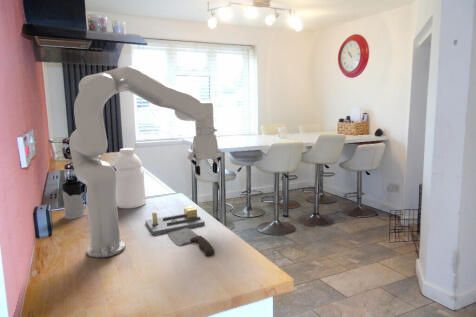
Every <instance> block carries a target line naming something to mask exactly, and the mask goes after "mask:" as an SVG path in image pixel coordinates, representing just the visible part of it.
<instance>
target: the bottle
mask: <svg viewBox="0 0 476 317" xmlns="http://www.w3.org/2000/svg"><path fill="white" fill-rule="evenodd" d="M142 166H143V162H142V160H141V159H140V157H139V156H138V155H137V154H136V153H135V148H133V147H124V148H120V149H119V155H118V156H117V157H116V159H115V161H114V164H113V168H114V169H115V172H116V175H117V183H116V201H117V208H120V209H135V208H140V207H142V206H144V205H145V204H146V190H145V189H146V188H145V177H144V176H145V174H144V170H143V169H142V168H141V167H142Z"/></svg>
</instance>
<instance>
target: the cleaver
mask: <svg viewBox="0 0 476 317" xmlns="http://www.w3.org/2000/svg"><path fill="white" fill-rule="evenodd" d="M166 235H167V236H168V238H169V240H170V241H171V242H173V243H174V244H175V245H177V246H179V247H183V246H186V245H189V244H197V245H198V248H199V249H200V250H201V251H203V252H204V255H205V256H206V257H210V256H214V255H215V252H216V251H215V249H214V246H213V245H211V243H210V242H209V241H208V240H207V239H206V238H205V237H204V236H202V235H198V234H197V233H196V232H194V231H193V230H192V229H191V228H187V227H185V228H181V229H177V230H173V231H170V232H167V233H166Z"/></svg>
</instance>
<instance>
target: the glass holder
mask: <svg viewBox="0 0 476 317" xmlns="http://www.w3.org/2000/svg"><path fill="white" fill-rule="evenodd" d="M61 186H62V191H61V192H62V199H63V208H64V219H67V220H71V219H72V220H73V219H74V220H76V219H79V218H82V217H84V216H86V213H85V208H87V203H86V204H84V197H83V195H84V194H86V193H87V185H86V184H85V186H84V192H82V182H80V181H69V182H65V183H62V184H61Z"/></svg>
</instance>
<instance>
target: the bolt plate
mask: <svg viewBox="0 0 476 317" xmlns="http://www.w3.org/2000/svg"><path fill="white" fill-rule="evenodd" d="M151 214H152V217H151V219H146V220H145V225H146V226H147V228H148V230H149V231H150V233H151V234H152V235H153V236H158V235H161V234H167V232H170V231H173V230H177V229H181V228H185V227H187V228H188V229H193V228H197V227H203V226H205V225H206V224H205V223H206V222H205V220H203V219H202V218H201V216H198V215H197V217H195V218H190V219H187V218H185V217H184V213H180V214H174V215H168V216H163V217H158V212H157V211H153V212H152V213H151Z"/></svg>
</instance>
